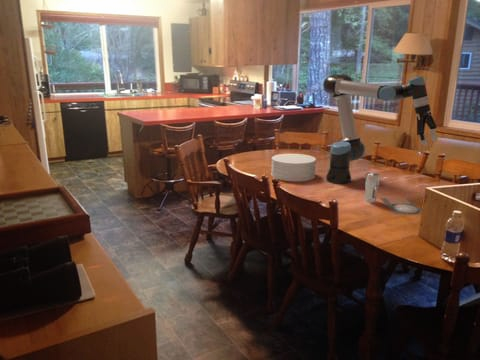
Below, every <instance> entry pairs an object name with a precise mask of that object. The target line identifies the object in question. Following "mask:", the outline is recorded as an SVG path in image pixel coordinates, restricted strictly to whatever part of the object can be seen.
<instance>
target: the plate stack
mask: <svg viewBox="0 0 480 360" xmlns="http://www.w3.org/2000/svg"><path fill="white" fill-rule="evenodd" d="M316 162H317V159H316V157H314V156H312V155H309V154H303V153H279V154H276V155H273V156H272V157H271V171H270V172H271V173H270V174H271V177H272V178H274V179H276V180H280V181H287V182H306V181H310V180H311V181H312V180H313V179H315V177H316V166H317V165H316Z"/></svg>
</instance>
